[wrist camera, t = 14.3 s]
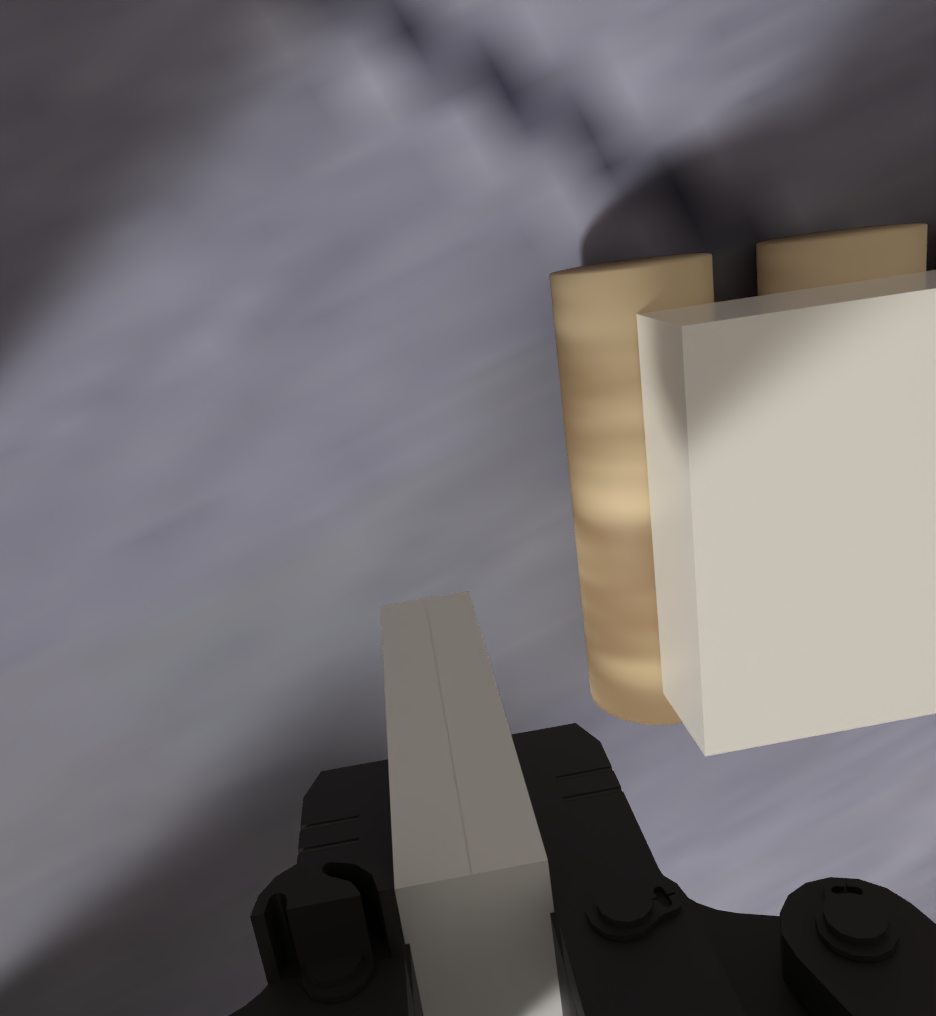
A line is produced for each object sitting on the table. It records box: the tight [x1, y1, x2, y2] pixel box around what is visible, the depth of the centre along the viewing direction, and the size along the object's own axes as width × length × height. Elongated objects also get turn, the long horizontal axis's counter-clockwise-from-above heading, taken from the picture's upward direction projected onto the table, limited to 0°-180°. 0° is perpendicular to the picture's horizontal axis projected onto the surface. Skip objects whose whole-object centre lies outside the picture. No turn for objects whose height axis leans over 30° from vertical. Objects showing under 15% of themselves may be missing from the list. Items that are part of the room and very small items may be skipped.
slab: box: [636, 270, 936, 756], centre depth 21 cm, size 10×12×3 cm
